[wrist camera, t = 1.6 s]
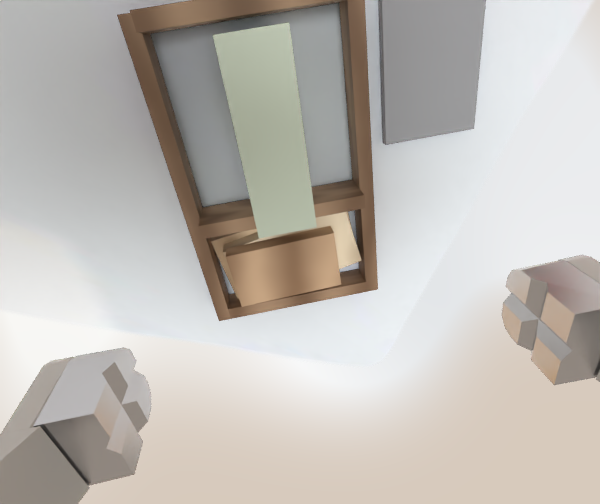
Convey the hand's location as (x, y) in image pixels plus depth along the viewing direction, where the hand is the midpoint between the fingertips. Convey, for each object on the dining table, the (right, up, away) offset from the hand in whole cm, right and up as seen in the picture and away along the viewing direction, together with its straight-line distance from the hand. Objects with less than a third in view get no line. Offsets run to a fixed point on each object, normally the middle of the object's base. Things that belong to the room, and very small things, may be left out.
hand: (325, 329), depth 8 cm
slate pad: (+10, +19, +21) cm, 30 cm away
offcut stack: (-2, +2, +29) cm, 30 cm away
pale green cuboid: (-4, +13, +23) cm, 27 cm away
